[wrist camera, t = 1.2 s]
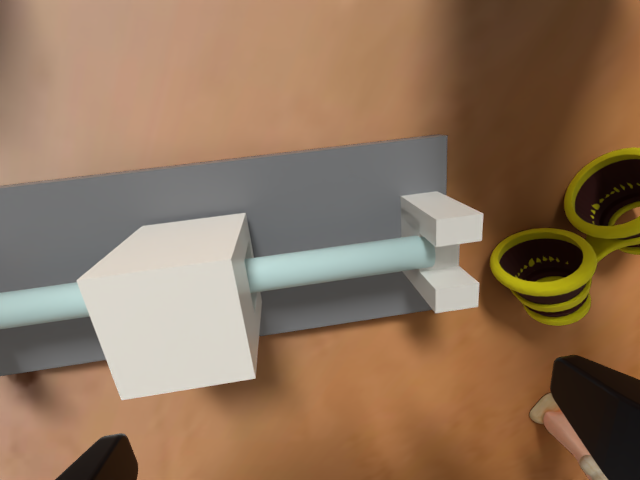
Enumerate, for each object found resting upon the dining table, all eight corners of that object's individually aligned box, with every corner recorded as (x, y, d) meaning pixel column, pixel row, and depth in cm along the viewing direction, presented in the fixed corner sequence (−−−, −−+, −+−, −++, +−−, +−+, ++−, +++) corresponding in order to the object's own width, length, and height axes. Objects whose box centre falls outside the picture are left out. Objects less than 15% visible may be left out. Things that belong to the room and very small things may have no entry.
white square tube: (245, 212, 18) (230, 259, 12) (262, 301, 19) (255, 378, 14) (141, 225, 17) (76, 280, 12) (167, 315, 19) (121, 400, 13)
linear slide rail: (439, 134, 19) (507, 143, 13) (437, 299, 22) (490, 362, 17) (-87, 196, 17) (-266, 236, 11) (0, 366, 20) (-106, 461, 15)
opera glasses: (506, 298, 24) (569, 351, 20) (469, 256, 21) (532, 307, 17) (626, 194, 22) (723, 227, 18) (602, 136, 20) (708, 158, 16)
